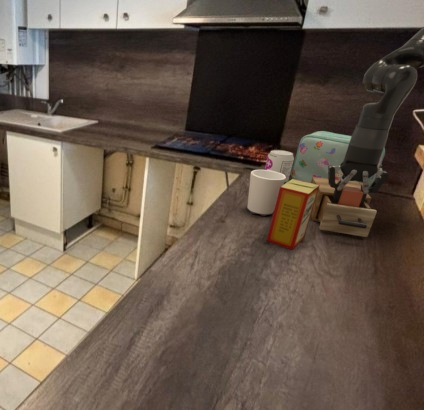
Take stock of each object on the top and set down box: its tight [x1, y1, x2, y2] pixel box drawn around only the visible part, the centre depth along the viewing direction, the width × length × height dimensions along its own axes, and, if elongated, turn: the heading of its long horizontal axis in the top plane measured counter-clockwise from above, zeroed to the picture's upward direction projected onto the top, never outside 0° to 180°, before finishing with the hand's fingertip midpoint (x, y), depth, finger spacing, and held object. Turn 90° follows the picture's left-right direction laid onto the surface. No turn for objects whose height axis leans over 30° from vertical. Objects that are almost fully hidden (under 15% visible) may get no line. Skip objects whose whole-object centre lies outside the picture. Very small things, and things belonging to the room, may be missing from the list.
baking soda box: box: [266, 178, 320, 250], centre depth 95 cm, size 10×6×16 cm
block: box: [337, 186, 363, 207], centre depth 101 cm, size 5×5×5 cm
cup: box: [247, 169, 286, 217], centre depth 112 cm, size 10×10×13 cm
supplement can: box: [264, 149, 295, 184], centre depth 128 cm, size 8×8×15 cm
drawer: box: [317, 194, 378, 238], centre depth 102 cm, size 18×11×8 cm, turn 158°
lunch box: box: [291, 130, 386, 187], centre depth 130 cm, size 27×10×21 cm, turn 34°
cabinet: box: [310, 177, 372, 223], centre depth 112 cm, size 15×13×10 cm
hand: (346, 203), depth 101 cm, fingers closed on block, 4 cm apart
